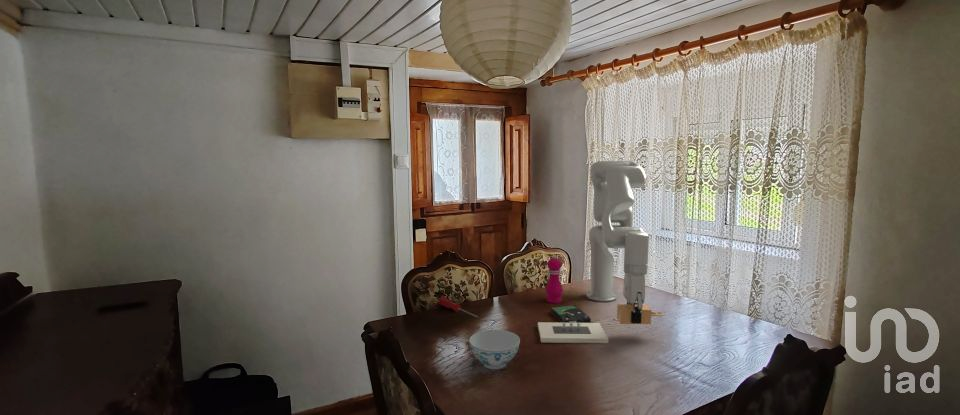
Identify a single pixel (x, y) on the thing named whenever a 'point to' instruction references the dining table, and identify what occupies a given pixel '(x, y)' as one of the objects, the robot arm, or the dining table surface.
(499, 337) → the chinaware
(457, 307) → the screwdriver
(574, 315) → the disk drive
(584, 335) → the board
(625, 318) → the plug housing
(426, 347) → the dining table surface
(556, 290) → the pepper mill
